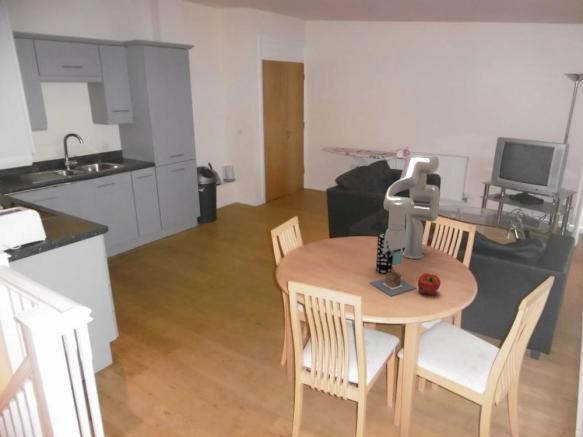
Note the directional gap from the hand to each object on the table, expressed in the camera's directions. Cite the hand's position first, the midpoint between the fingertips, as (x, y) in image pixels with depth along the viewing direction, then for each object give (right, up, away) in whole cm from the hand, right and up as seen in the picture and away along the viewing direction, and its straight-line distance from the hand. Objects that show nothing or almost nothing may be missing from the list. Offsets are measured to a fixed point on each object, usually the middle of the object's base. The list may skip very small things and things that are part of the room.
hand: (394, 261), depth 206 cm
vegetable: (+16, -15, -3) cm, 22 cm away
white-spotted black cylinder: (0, -7, +21) cm, 22 cm away
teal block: (0, -1, 0) cm, 1 cm away
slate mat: (0, -13, +4) cm, 13 cm away
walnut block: (0, -12, +4) cm, 12 cm away
